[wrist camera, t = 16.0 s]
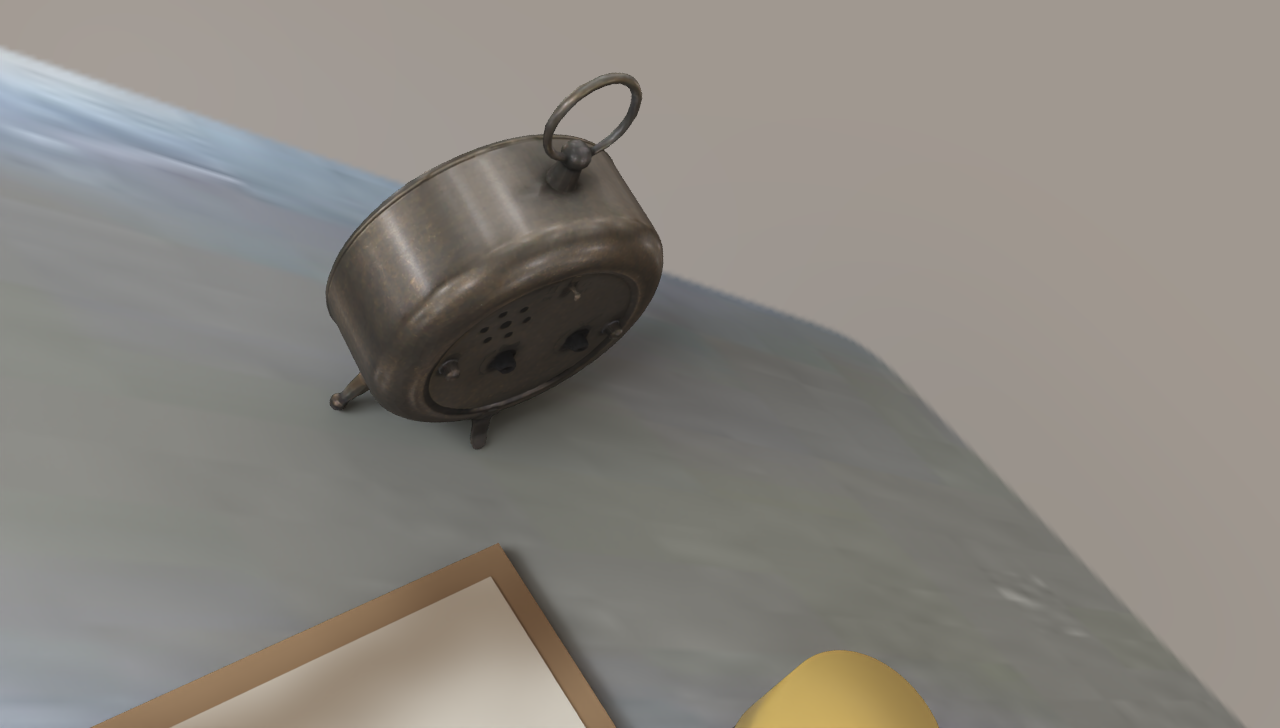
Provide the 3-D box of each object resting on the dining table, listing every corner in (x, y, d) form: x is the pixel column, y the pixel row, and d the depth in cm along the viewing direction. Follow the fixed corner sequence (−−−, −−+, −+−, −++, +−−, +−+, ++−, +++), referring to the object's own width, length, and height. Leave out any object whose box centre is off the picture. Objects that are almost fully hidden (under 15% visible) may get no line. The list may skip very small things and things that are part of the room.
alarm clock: (539, 318, 49) (705, 3, 37) (604, 422, 47) (800, 125, 35) (287, 379, 42) (393, 21, 31) (350, 503, 40) (489, 170, 29)
